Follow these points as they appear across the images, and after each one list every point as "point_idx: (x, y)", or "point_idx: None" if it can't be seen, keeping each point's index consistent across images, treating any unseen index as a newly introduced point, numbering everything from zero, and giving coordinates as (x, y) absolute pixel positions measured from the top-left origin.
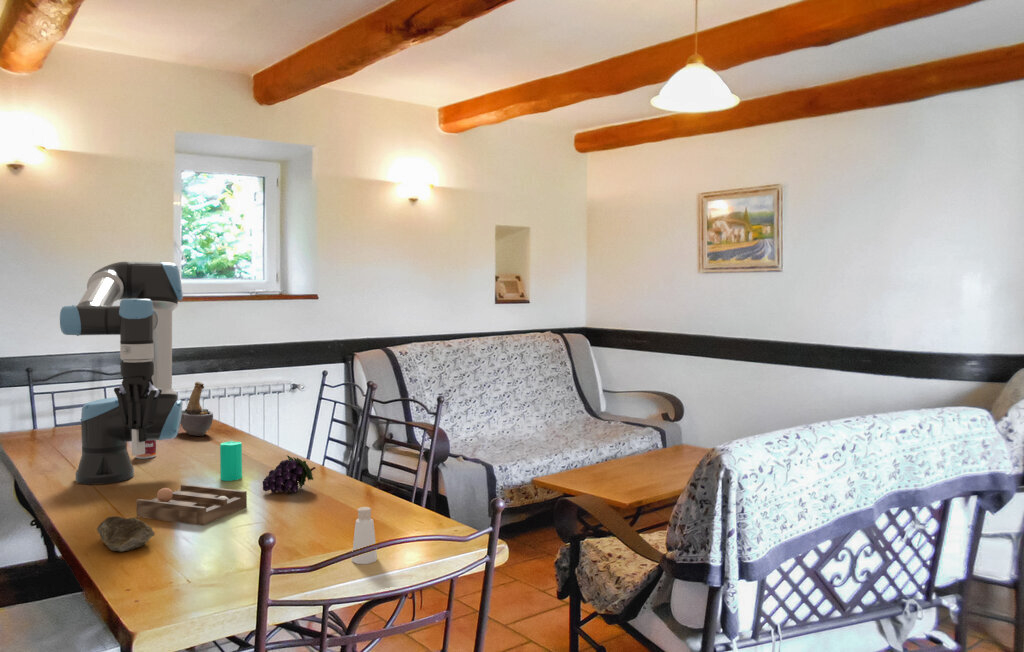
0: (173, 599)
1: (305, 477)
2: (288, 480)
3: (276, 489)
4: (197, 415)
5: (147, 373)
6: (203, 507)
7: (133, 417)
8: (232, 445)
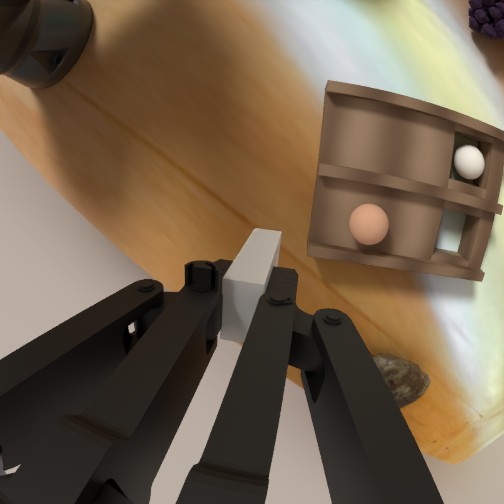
0: (472, 438)
1: None
2: None
3: (498, 37)
4: None
5: None
6: (481, 277)
7: (196, 375)
8: None
